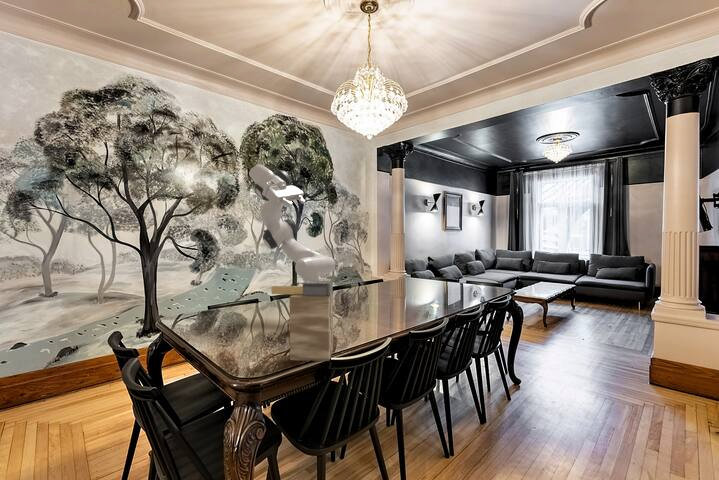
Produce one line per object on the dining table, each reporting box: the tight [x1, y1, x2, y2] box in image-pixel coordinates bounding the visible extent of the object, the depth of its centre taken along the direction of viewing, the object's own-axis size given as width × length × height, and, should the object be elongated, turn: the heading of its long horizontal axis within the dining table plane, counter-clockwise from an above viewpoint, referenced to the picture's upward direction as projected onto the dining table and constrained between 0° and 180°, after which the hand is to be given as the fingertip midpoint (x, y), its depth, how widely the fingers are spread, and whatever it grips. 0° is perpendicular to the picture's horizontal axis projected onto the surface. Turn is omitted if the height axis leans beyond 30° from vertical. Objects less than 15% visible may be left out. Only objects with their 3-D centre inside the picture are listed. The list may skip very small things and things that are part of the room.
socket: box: [302, 280, 334, 296], centre depth 136 cm, size 8×11×5 cm
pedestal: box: [289, 293, 334, 362], centre depth 136 cm, size 12×16×26 cm
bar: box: [271, 285, 303, 295], centre depth 136 cm, size 3×24×3 cm, turn 86°
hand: (297, 203), depth 148 cm, fingers open, 8 cm apart
